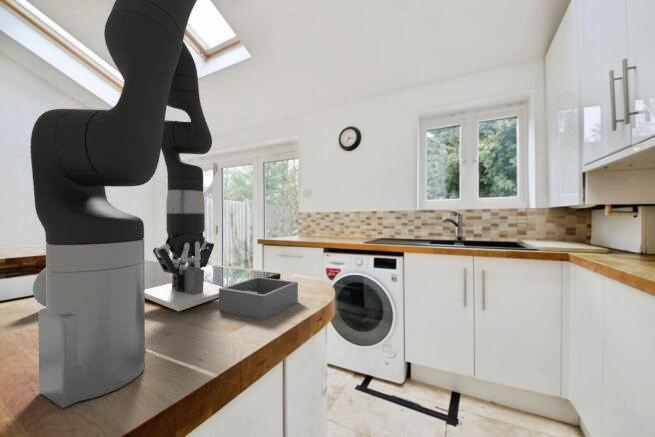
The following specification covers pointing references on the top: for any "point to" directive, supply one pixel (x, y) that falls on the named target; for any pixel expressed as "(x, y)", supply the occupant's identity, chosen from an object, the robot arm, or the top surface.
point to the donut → (40, 287)
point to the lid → (185, 291)
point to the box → (258, 297)
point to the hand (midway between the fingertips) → (186, 289)
